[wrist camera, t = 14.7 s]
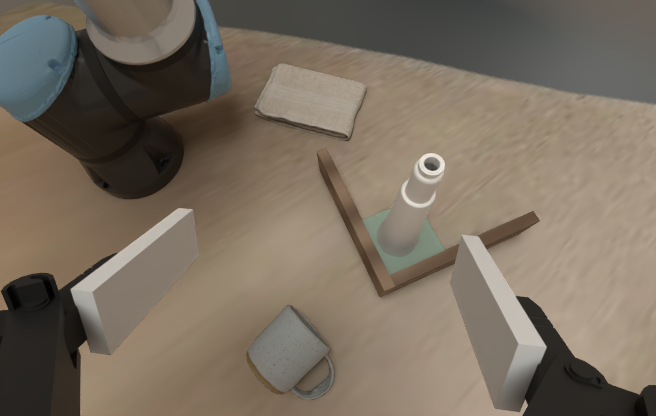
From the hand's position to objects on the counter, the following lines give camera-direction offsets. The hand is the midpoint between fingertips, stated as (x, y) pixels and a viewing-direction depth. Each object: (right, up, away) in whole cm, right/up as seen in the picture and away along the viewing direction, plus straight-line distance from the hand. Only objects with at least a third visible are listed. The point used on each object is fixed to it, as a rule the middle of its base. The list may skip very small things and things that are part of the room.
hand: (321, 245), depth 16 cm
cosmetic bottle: (+11, -3, +33) cm, 35 cm away
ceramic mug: (-3, -18, +28) cm, 34 cm away
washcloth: (-3, +20, +44) cm, 49 cm away
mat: (+11, -3, +33) cm, 35 cm away
